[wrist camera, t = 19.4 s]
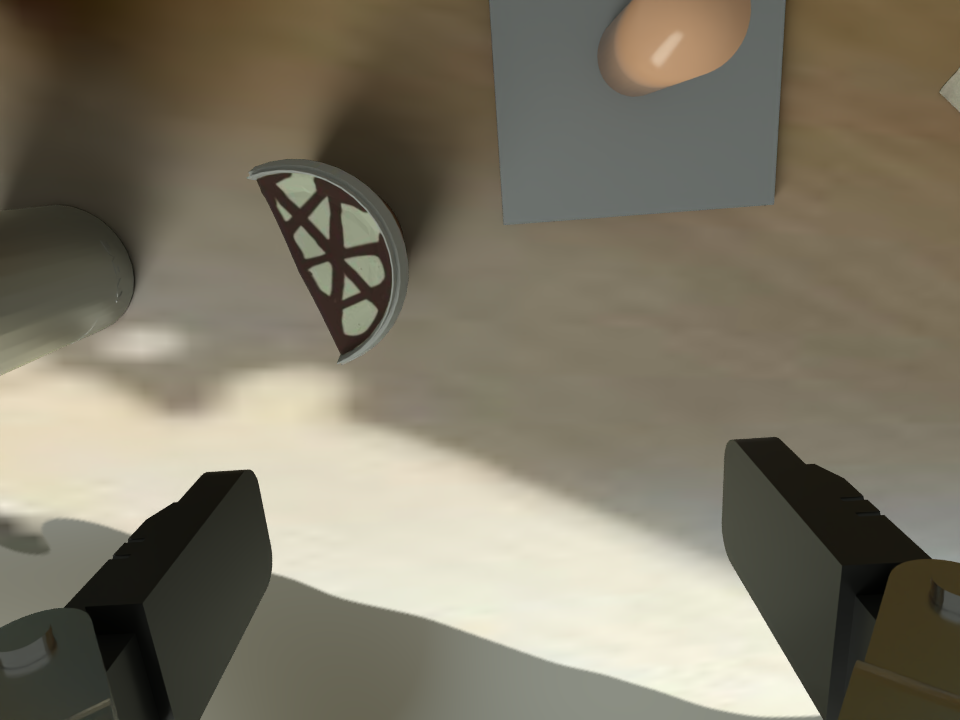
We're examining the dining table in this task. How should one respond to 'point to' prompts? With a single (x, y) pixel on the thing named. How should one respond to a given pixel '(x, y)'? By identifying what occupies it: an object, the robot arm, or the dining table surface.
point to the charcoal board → (627, 120)
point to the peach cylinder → (669, 42)
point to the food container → (340, 248)
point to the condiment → (952, 90)
